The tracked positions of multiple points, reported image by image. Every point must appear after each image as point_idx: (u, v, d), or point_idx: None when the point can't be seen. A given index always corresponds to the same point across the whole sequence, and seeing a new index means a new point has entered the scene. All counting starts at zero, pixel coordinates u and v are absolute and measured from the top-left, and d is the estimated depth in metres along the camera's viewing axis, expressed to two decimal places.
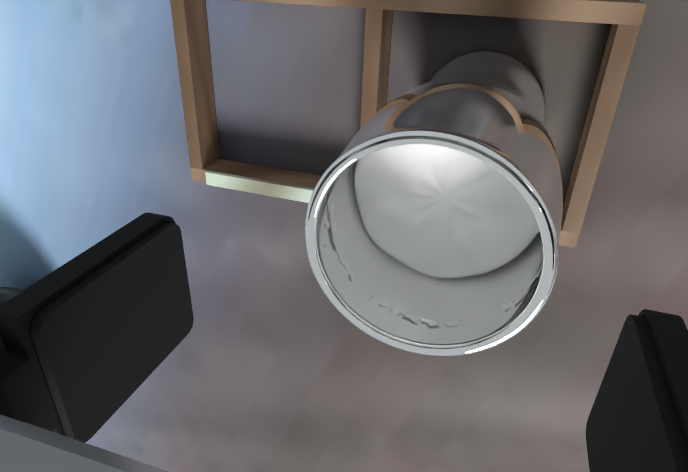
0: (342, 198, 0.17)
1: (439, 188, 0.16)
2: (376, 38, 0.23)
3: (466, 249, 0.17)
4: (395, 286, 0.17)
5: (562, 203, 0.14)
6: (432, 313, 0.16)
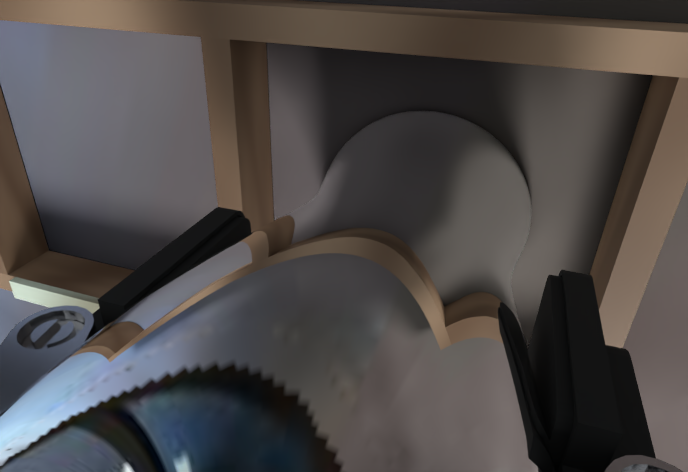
0: None
1: None
2: (226, 89, 0.13)
3: None
4: None
5: None
6: None
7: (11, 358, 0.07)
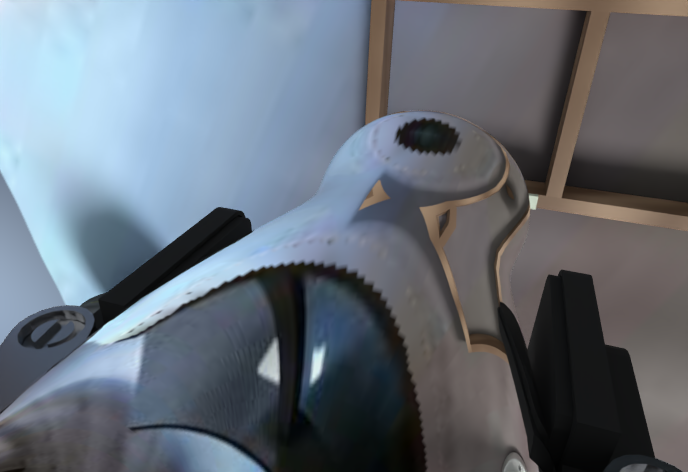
0: None
1: None
2: (598, 40, 0.24)
3: None
4: None
5: None
6: None
7: (12, 358, 0.07)
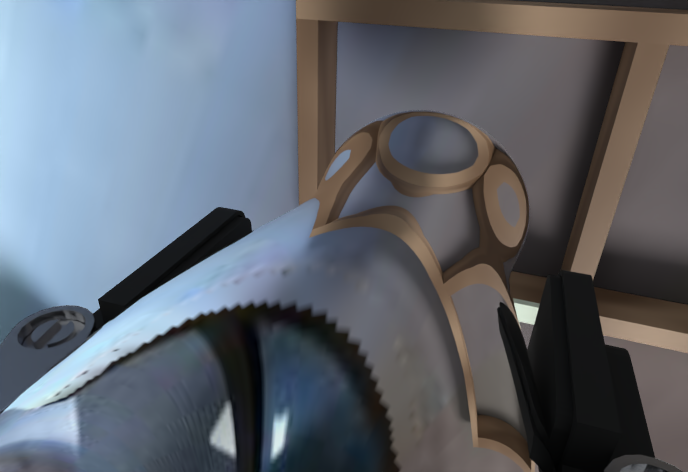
0: None
1: None
2: (647, 88, 0.15)
3: None
4: None
5: None
6: None
7: (12, 358, 0.07)
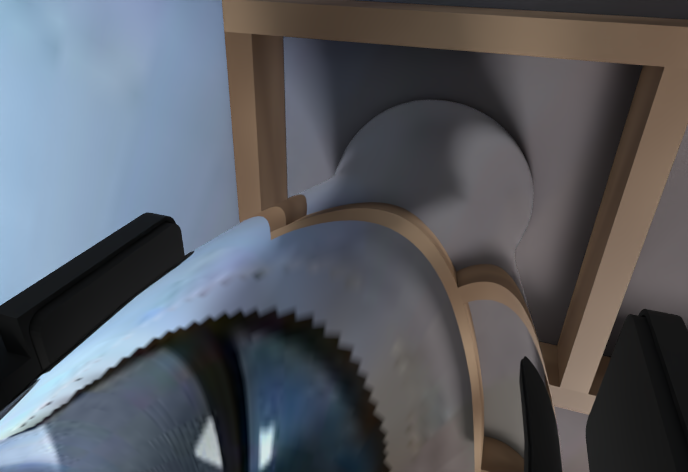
0: None
1: None
2: (676, 126, 0.11)
3: None
4: None
5: None
6: None
7: None
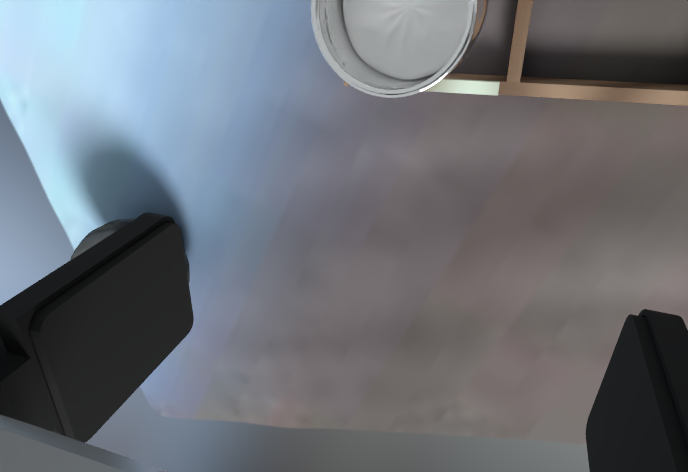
0: (335, 15, 0.23)
1: None
2: None
3: (426, 47, 0.23)
4: (377, 78, 0.23)
5: None
6: None
7: None
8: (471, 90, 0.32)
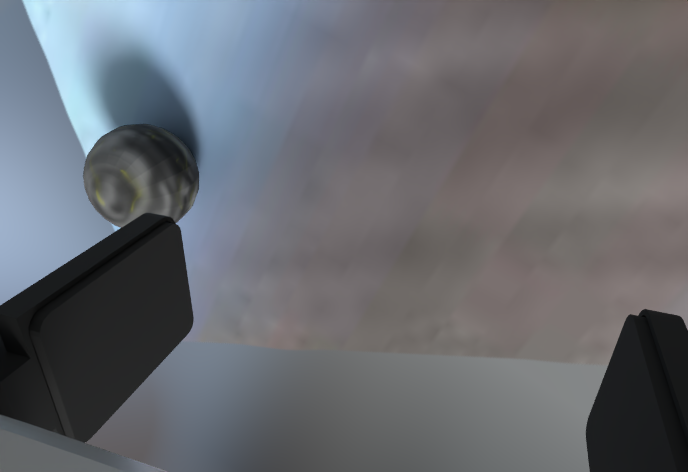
0: None
1: None
2: None
3: None
4: None
5: None
6: None
7: None
8: None
